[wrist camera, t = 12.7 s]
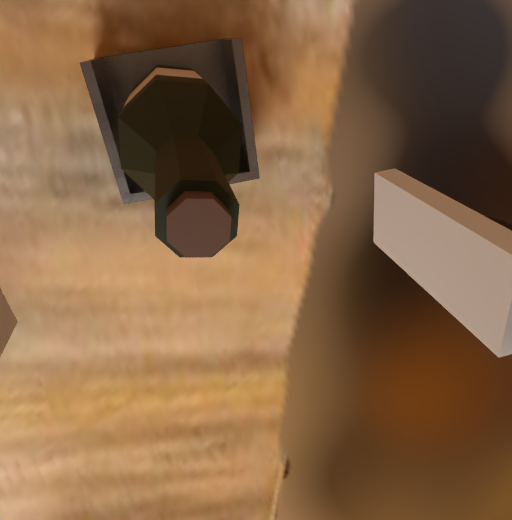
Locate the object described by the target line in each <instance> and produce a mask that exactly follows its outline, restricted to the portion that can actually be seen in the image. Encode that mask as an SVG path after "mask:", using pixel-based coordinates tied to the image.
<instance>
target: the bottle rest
mask: <svg viewBox="0 0 512 520" xmlns="http://www.w3.org/2000/svg"><path fill="white" fill-rule="evenodd" d="M80 65H81V68H82V72H83V75H84V78H85V81H86V85H87V88H88V91H89V94H90V97H91V101H92V104H93V107H94V110H95V114H96V117H97V120H98V123H99V127H100V130H101V133H102V136H103V139H104V143H105V146H106V149H107V152H108V156H109V159H110V162H111V165H112V168H113V172H114V175H115V178H116V181H117V185H118V188H119V191H120V194H121V197H122V201H123V204H129V203H134V202H139V201H144V200H150V199H153V198H152V197H151V196H150V195H149V194H148V193H146V192H145V191H144V190H143V189H142V188H141V187H140V186H139V185H138V184H137V183H136V182H135V181H133V180H132V179H131V178H130V177H129V176H128V175H127V174H126V173H125V172H124V171H123V170H122V169H121V163H120V146H119V129H118V116H119V114H120V112H121V110H122V108H123V106H124V105H125V103H126V101H127V99H128V97H129V95H130V94H131V92H132V90H133V88H134V87H135V86H136V85H137V84H138V83H139V82H140V81H141V80H142V79H143V78H144V77H145V76H146V75H147V74H148V73H149V72H150V71H151V70H152V69H153V68H154V67H155V66H156V65H163V66H174V67H185V68H191V69H193V70H194V71H195V72H196V73H197V74H198V75H199V76H200V77H202V78H203V79H204V80H205V81H206V82H207V83H208V84H209V85H210V86H211V87H212V88H213V90H214V91H215V92H216V93H217V94H218V96H219V97H220V98H221V99H222V101H223V102H224V103H225V104H226V105H227V107H228V108H229V109H230V110H231V111H232V113H233V114H234V115H235V116H236V118H237V119H238V120H239V121H240V122H241V124H242V137H241V150H240V163H239V173H238V174H237V175H236V176H235V177H234V178H233V179H232V180H230V181H229V182H228V183H229V184H233V183H238V182H243V181H248V180H253V179H259V170H258V162H257V154H256V146H255V139H254V131H253V123H252V115H251V107H250V100H249V92H248V84H247V76H246V68H245V61H244V53H243V45H242V38H228V39H221V40H214V41H207V42H201V43H194V44H188V45H181V46H174V47H168V48H161V49H154V50H148V51H141V52H134V53H128V54H121V55H114V56H108V57H101V58H94V59H91V60H87V61H84V62H80Z"/></svg>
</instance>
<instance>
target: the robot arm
mask: <svg viewBox="0 0 512 520" xmlns="http://www.w3.org/2000/svg"><path fill="white" fill-rule="evenodd" d="M374 191H375V192H374V243H375V244H376V245H377V246H378V247H380V249H382V250H383V251H384V252H385V253H386V254H387V255H388V256H389V257H390V258H391V259H392V260H394V261H395V262H396V263H397V264H398V265H399V266H400V267H401V268H402V269H403V270H404V271H405V272H407V273H408V274H409V275H410V276H411V277H412V278H413V279H414V280H415V281H416V282H417V283H418V284H420V285H421V286H422V287H423V288H424V289H425V290H426V291H427V292H428V293H429V294H430V295H432V296H433V297H434V298H435V299H436V300H437V301H438V302H439V303H440V304H441V305H442V306H443V307H444V308H446V309H447V310H448V311H449V312H450V313H451V314H452V315H453V316H454V317H455V318H457V319H458V320H459V321H460V322H461V323H462V324H463V325H464V326H465V327H466V328H467V329H468V330H469V331H471V332H472V333H473V334H474V335H475V336H476V337H477V338H478V339H479V340H480V341H481V342H482V343H484V344H485V345H486V346H487V347H488V348H489V349H490V350H491V351H492V352H493V353H494V354H496V355H497V356H498V357H502V356H506V355H510V354H512V225H511V224H509V223H507V222H505V221H503V220H499V219H495V218H492V217H488V216H483V215H481V214H479V213H477V212H476V211H474V210H472V209H470V208H468V207H466V206H464V205H462V204H460V203H459V202H456V201H455V200H453V199H451V198H449V197H447V196H445V195H444V194H442V193H440V192H438V191H436V190H434V189H432V188H430V187H429V186H427V185H425V184H423V183H421V182H419V181H417V180H415V179H413V178H412V177H410V176H408V175H406V174H404V173H402V172H400V171H398V170H396V169H391V170H386V171H381V172H376V173H375V187H374ZM17 322H18V321H17V319H16V317H15V316H14V314H13V312H12V310H11V308H10V306H9V304H8V302H7V300H6V299H5V297H4V295H3V293H2V291H1V289H0V356H1V354H2V352H3V350H4V348H5V346H6V344H7V342H8V340H9V338H10V336H11V334H12V332H13V330H14V328H15V326H16V324H17Z"/></svg>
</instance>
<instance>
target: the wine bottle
mask: <svg viewBox="0 0 512 520" xmlns="http://www.w3.org/2000/svg"><path fill="white" fill-rule="evenodd" d="M118 129H119V146H120V163H121V169H122V170H123V171H124V172H125V173H126V174H127V175H128V176H129V177H130V178H131V179H132V180H133V181H135V182H136V183H137V184H138V185H139V186H140V187H141V188H142V189H143V190H144V191H145V192H146V193H148V194H149V195H150V196H151V197H152V198H153V199H154V200H155V236H156V237H157V238H158V239H159V240H161V241H162V242H163V243H164V244H165V245H166V246H167V247H169V248H170V249H171V250H172V251H173V252H174V253H175V254H177V255H178V256H179V257H213V256H214V255H215V254H216V253H218V252H219V251H220V250H221V249H222V248H223V247H225V246H226V245H227V244H228V243H229V242H230V241H232V240H233V239H234V238H235V237H236V236H237V227H238V214H239V203H238V201H237V199H236V197H235V195H234V193H233V191H232V189H231V187H230V185H229V183H228V182H229V181H230V180H232V179H233V178H234V177H235V176H236V175H237V174H238V173H239V163H240V150H241V137H242V124H241V122H240V121H239V120H238V119H237V118H236V116H235V115H234V114H233V113H232V111H231V110H230V109H229V108H228V107H227V105H226V104H225V103H224V102H223V101H222V99H221V98H220V97H219V96H218V94H217V93H216V92H215V91H214V90H213V88H212V87H211V86H210V85H209V84H208V83H207V82H206V81H205V80H204V79H203V78H202V77H200V76H199V75H198V74H197V73H196V72H195V71H194V70H193V69H191V68H185V67H174V66H163V65H156V66H155V67H154V68H153V69H152V70H151V71H150V72H149V73H148V74H147V75H146V76H145V77H144V78H143V79H142V80H141V81H140V82H139V83H138V84H137V85H136V86H135V87H134V88H133V90H132V92H131V94H130V95H129V97H128V99H127V101H126V103H125V105H124V106H123V108H122V110H121V112H120V114H119V116H118Z"/></svg>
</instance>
